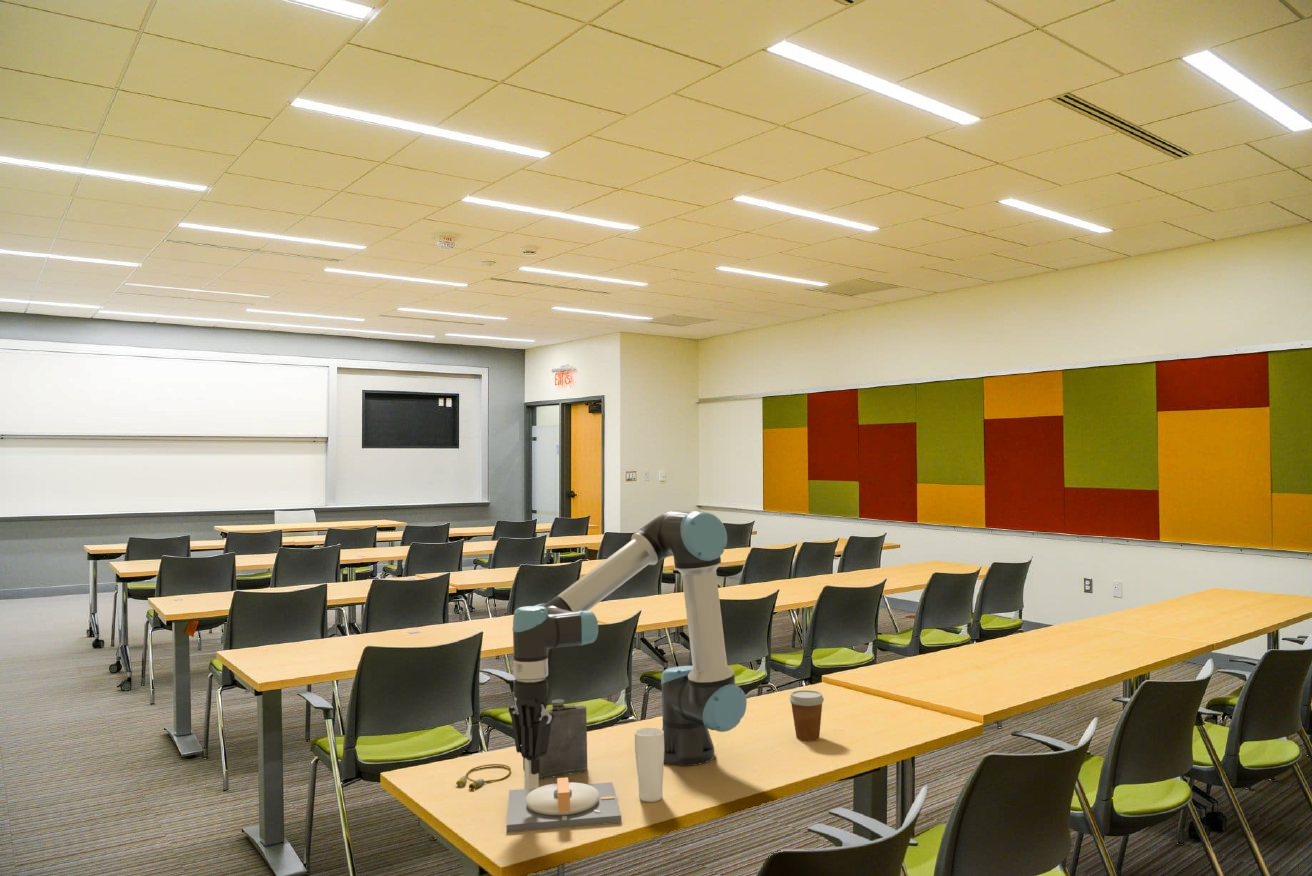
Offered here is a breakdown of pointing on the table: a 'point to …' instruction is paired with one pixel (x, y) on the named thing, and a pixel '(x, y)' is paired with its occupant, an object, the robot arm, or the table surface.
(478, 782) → the extension cord
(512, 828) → the dial housing
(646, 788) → the drinking glass
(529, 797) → the dial
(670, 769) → the table surface
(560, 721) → the flask
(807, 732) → the disposable coffee cup
